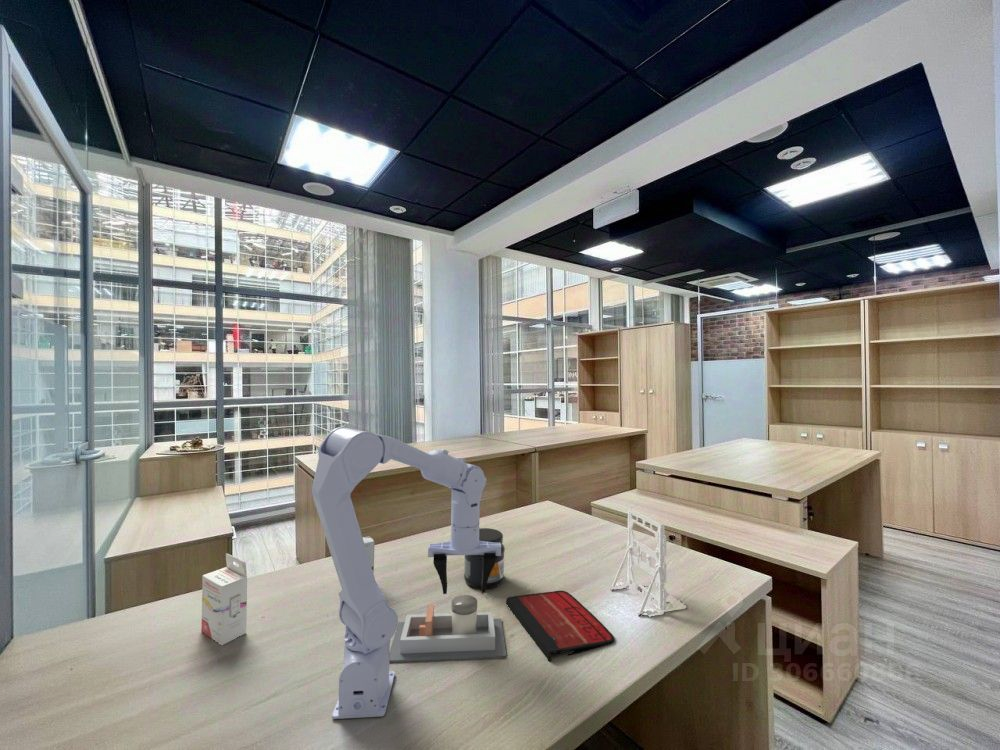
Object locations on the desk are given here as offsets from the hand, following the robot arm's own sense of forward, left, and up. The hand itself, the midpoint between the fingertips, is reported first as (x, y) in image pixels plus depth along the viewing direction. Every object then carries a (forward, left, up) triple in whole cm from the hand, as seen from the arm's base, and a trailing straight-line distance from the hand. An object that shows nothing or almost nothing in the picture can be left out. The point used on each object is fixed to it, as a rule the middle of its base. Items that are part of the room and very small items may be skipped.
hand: (464, 591), depth 83 cm
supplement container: (+24, -5, -10) cm, 27 cm away
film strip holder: (+13, -44, -10) cm, 47 cm away
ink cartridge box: (+5, +49, -10) cm, 50 cm away
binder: (+5, -20, -10) cm, 23 cm away
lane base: (0, +3, -10) cm, 10 cm away
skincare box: (+21, +26, -10) cm, 35 cm away
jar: (0, 0, -9) cm, 9 cm away
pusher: (0, +7, -9) cm, 12 cm away
